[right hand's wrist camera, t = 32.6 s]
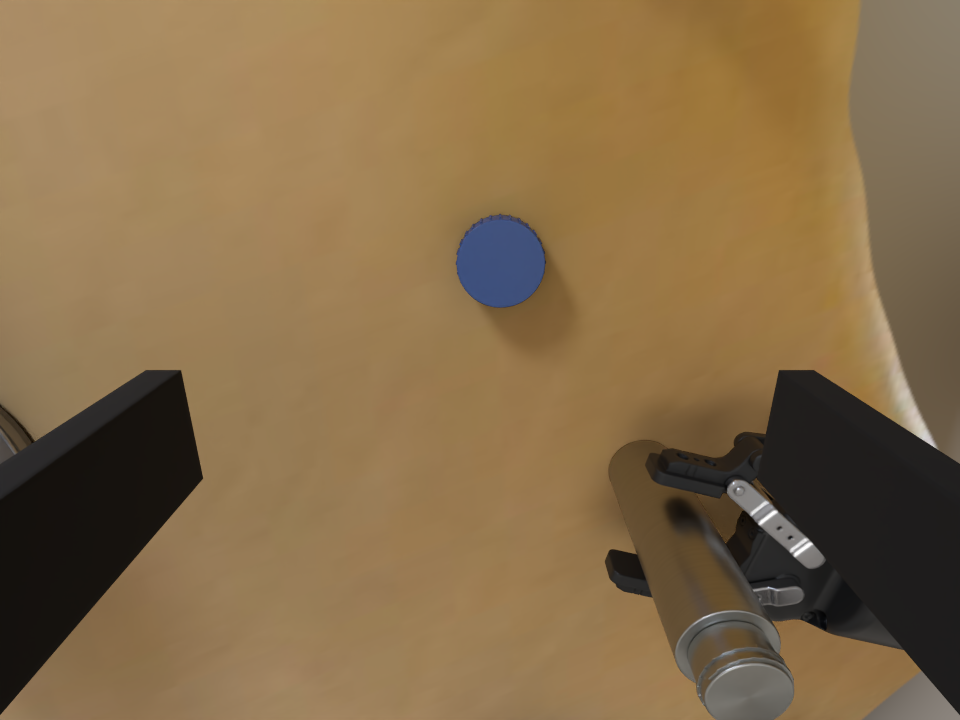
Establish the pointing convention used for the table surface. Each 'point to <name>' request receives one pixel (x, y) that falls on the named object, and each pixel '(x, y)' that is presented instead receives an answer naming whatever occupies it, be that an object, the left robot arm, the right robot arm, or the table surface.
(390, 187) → the table surface
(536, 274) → the lid
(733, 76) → the table surface
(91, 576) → the right robot arm
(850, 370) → the table surface
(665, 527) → the bottle
